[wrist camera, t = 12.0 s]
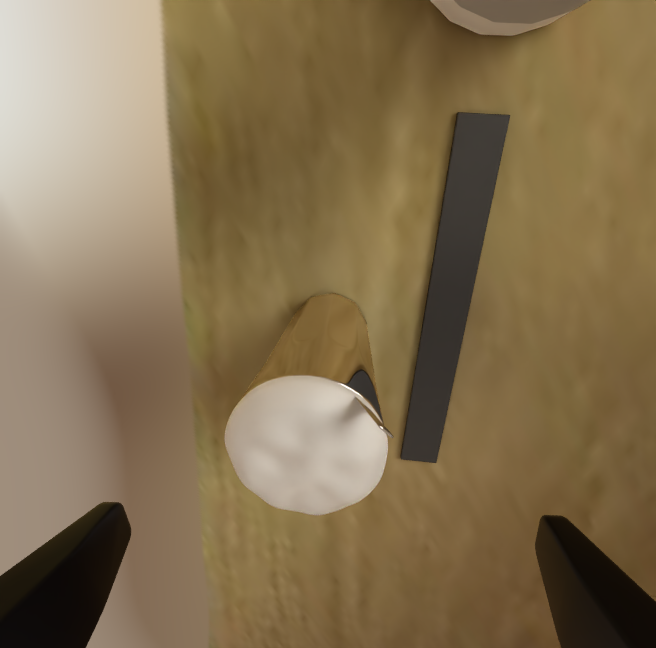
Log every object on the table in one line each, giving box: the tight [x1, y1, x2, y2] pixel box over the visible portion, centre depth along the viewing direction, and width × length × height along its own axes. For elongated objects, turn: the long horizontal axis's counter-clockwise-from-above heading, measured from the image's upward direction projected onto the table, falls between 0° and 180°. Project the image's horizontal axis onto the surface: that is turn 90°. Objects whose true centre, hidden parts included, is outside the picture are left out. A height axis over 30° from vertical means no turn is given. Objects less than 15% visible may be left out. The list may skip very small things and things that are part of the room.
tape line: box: [401, 112, 510, 463], centre depth 18 cm, size 16×2×1 cm, turn 177°
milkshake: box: [225, 293, 393, 515], centre depth 14 cm, size 4×5×10 cm
